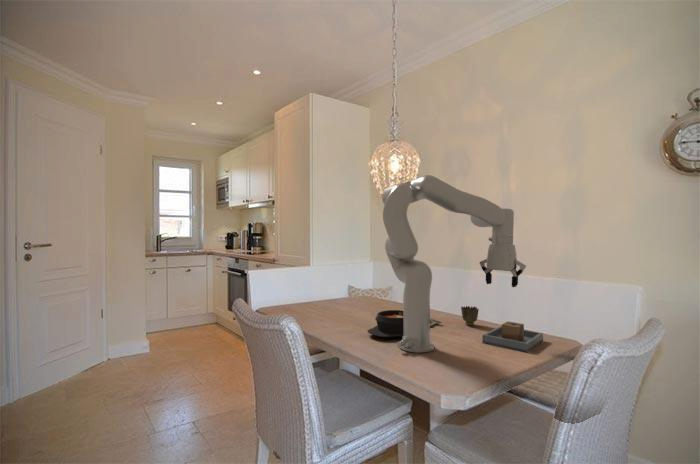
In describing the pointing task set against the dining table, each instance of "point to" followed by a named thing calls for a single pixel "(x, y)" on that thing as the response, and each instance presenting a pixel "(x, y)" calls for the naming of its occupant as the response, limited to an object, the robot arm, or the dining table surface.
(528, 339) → the tray
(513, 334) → the walnut block
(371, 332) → the casserole
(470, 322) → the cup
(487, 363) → the dining table surface
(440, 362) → the dining table surface
